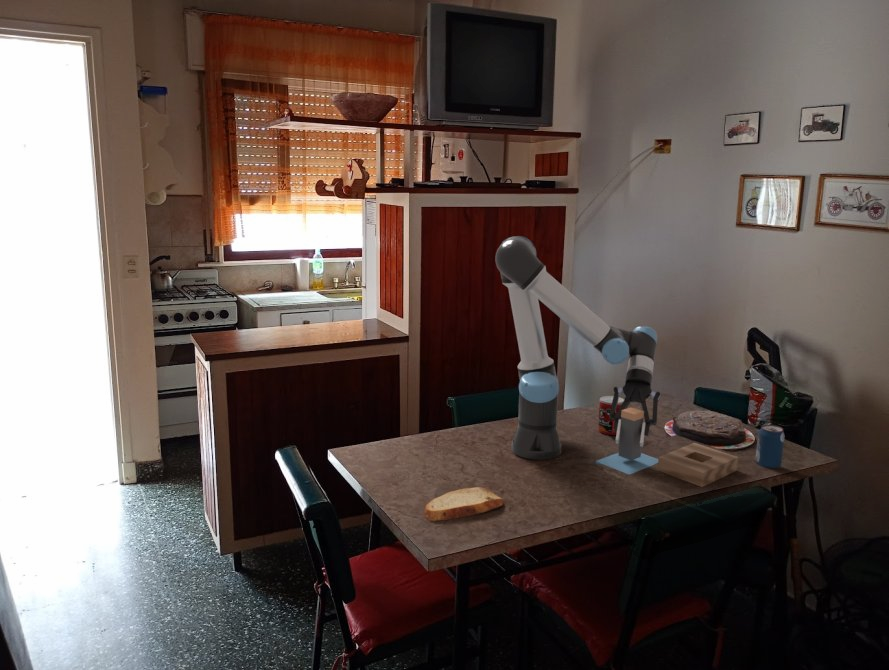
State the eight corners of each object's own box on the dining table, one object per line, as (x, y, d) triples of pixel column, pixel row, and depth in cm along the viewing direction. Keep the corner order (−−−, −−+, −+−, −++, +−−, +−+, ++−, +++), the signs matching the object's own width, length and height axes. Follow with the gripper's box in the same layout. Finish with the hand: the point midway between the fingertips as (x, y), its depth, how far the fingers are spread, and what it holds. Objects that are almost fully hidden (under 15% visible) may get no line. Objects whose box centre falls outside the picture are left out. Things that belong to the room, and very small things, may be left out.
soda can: (785, 468, 205) (790, 429, 203) (770, 473, 202) (775, 433, 199) (765, 460, 211) (769, 422, 209) (749, 464, 208) (754, 426, 205)
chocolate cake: (721, 459, 213) (723, 438, 211) (646, 431, 235) (647, 413, 233) (772, 440, 229) (774, 420, 227) (697, 416, 251) (698, 398, 249)
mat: (629, 478, 198) (629, 474, 198) (595, 464, 207) (595, 461, 207) (662, 464, 208) (662, 460, 207) (628, 451, 217) (629, 448, 216)
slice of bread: (418, 519, 173) (418, 505, 173) (442, 489, 190) (442, 476, 189) (489, 532, 168) (489, 517, 167) (507, 499, 185) (507, 486, 184)
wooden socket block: (701, 490, 190) (703, 473, 189) (657, 473, 201) (658, 456, 200) (736, 473, 202) (738, 457, 200) (692, 458, 212) (694, 442, 211)
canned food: (593, 428, 236) (595, 397, 234) (612, 425, 239) (614, 394, 237) (607, 436, 229) (609, 404, 227) (627, 433, 232) (629, 401, 230)
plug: (631, 460, 204) (634, 414, 200) (618, 455, 207) (621, 410, 204) (640, 456, 206) (644, 411, 203) (627, 452, 210) (631, 407, 207)
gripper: (672, 383, 213) (663, 453, 202) (608, 376, 220) (596, 444, 209) (672, 370, 207) (663, 442, 196) (606, 364, 214) (594, 433, 202)
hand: (629, 443), depth 202 cm, fingers closed on plug, 6 cm apart
